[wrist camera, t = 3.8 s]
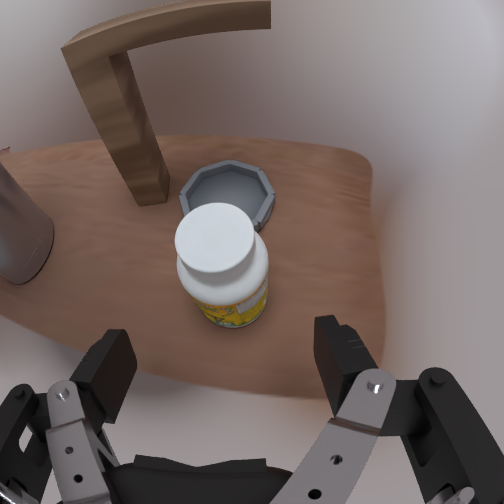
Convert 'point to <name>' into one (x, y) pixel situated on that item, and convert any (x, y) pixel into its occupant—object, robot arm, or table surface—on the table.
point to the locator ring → (231, 190)
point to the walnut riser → (125, 86)
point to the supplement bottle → (223, 264)
